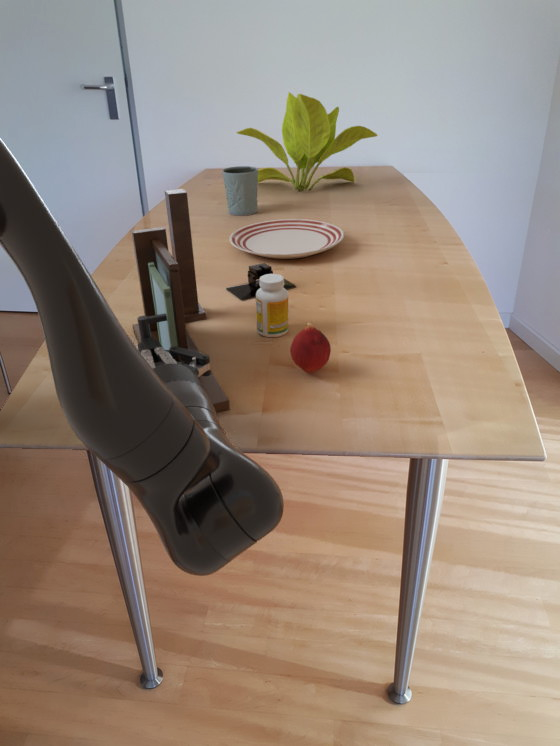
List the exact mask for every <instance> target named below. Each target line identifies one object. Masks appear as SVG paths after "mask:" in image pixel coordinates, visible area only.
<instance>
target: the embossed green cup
mask: <svg viewBox="0 0 560 746" xmlns="http://www.w3.org/2000/svg"><path fill="white" fill-rule="evenodd" d="M258 170H259V169H258V168H257V167H256V166H250V165H249V166H248V165H239V166H230V167H226V168H224V169H222V171H221V173H222V179H223V185H224V188H225V197H226V201H227V202H226V203H227V204H226V205H227V212H228V214H230V215H232V216H241V217H243V216H251V215H255V214H256V213H258V183H259V182H258Z"/></svg>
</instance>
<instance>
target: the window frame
mask: <svg viewBox="0 0 560 746" xmlns="http://www.w3.org/2000/svg"><path fill="white" fill-rule="evenodd" d="M130 232H131V239H132V244H133V250H134V257H135V263H136V268H137V269H136V271H137V274H138V281H139V289H140V293H141V300H142V307H143V313H144V316H154V315H156V314H155V308H154V301H153V294H152V287H151V281H150V274H149V267H148V263H151V262H153V263H154V264H155V267H156V269H157V271H158V272H159V274H160V275H161V277H162V278H163V280H164V282H165V283H166V285H167V286H169V288H170V291H171V299H172V306H173V314H174V322H175V330H176V337H177V345H178V347H181V348H184V349H188V350H192V351H195V352H199V353H201V351H200V349H199V348H198V347H197V345H196V343H195V341H194V340H193V338H192V337H191V335H190V333H189V332H188V330H187V327H186V323H185V318H184V310H183V302H182V293H181V285H180V276H179V268H178V263H177V262H176V261H175V259H174V258H173V256H172V253H170V251H169V244H168V243H169V242H168V236H167V229H166V228H165V227H164V226H160V227H152V228H145V229H137V230H131V231H130ZM149 325H150V332H151V337H153V339H154V340H156V339H157V340H159V335H158V328H157V323H151V324H149ZM132 330H133V334H134V336H135V339H136V342H137V344H138V343H140V342H141V337H140V331H139V325H138V323H133V324H132ZM159 342H160V341H159ZM180 360H181V361H184V358H183V357H182V356H180ZM199 378H200V382H201V384H202V386H203V388H204V389H205V391H206V393H207V395H208V397H209V399H210V400H211V402H212V404H213V406H214V408H215V411H216V414H217V413H220V412H221V413H222V412H226V411H229V410H230V409H231V408H230V400H229V397H228V396H227V395H226V393H225V391H224V389H223V388H222V387H221V385H220V382H218V380H217V378H216V376H215V375H214V373H213V372H212V370H211V375H209V376H202V375H201V376H199Z"/></svg>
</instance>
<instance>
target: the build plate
mask: <svg viewBox="0 0 560 746" xmlns="http://www.w3.org/2000/svg"><path fill="white" fill-rule="evenodd" d="M272 268H273V267H272V266H271V265H269V264H267V263H266V262H261V263H258V264H252V265H249V266H248V270H247V275H246V276H247V282H243V283H239V284H235V285H231V286H227V287H226V288H225V290H226V291H228V292H229V293H230V294H232V295H233V296H235V297H236V298H238V299H239V300H240V301H246V300H251V299H253V298H254V299H256V292H257V290H258V289H259V288H260V285H259V284H260V277H261V276H263V275H266V274H274V271H273V269H272ZM296 287H297V285H296V284H294V283H293V282H291V281H289V280H288V279H285V278H284V286H283V288H285V289H286V290H287V291H288V290H291V289H294V288H296Z"/></svg>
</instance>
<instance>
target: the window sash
mask: <svg viewBox="0 0 560 746" xmlns="http://www.w3.org/2000/svg"><path fill="white" fill-rule="evenodd" d="M148 267H149V274H150V281H151V287H152V294H153V301H154V308H155V314H156V315H154V316H145V315H140V316H138V317H137V324H138V325H139V331H140V337H141V339H142V338H148V337H151V332H150V325H149V324H151V323H157V328H158V335H159V341H160V344H161V346H162V347H163V348H164V349H165V350H169V348H170V347H173V346H177V347H178V345H177V337H176V330H175V322H174V314H173V306H172V299H171V291H170V288H169V286H167V285H166V283H165V282H164V280H163V278H162V277H161V275H160V274H159V272H158V271H157V269H156V267H155V264H154V263H153V262H151V263H148ZM141 342H142V341H141Z"/></svg>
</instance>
